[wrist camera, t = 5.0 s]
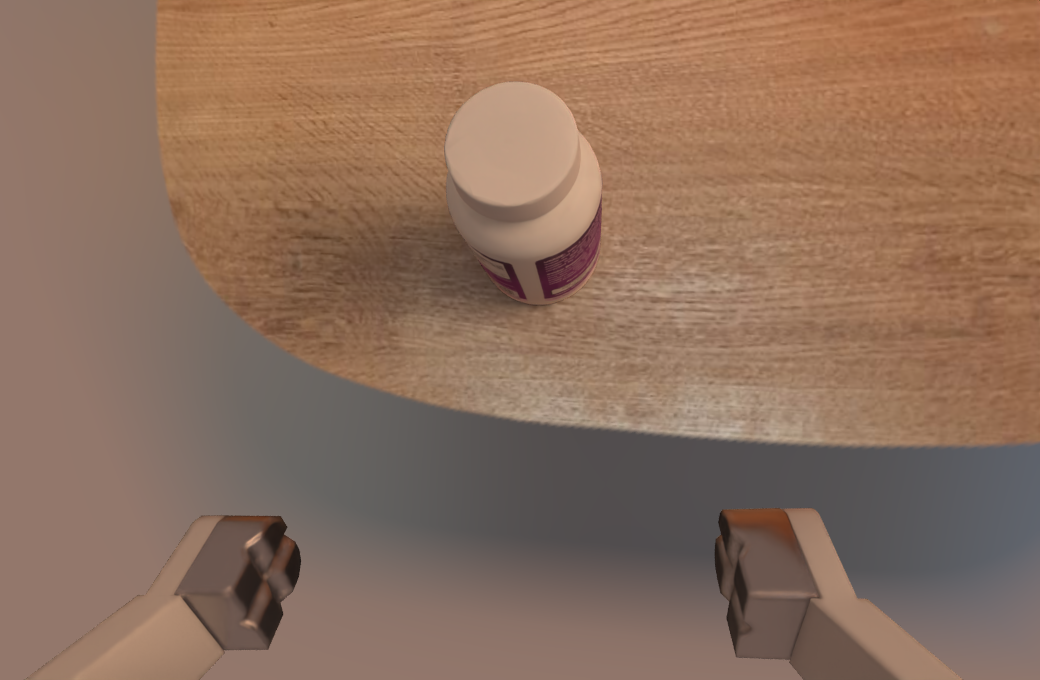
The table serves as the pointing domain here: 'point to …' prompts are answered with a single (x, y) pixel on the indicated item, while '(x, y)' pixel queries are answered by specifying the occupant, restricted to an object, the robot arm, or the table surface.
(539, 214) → the pill bottle
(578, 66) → the table surface
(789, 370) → the table surface
